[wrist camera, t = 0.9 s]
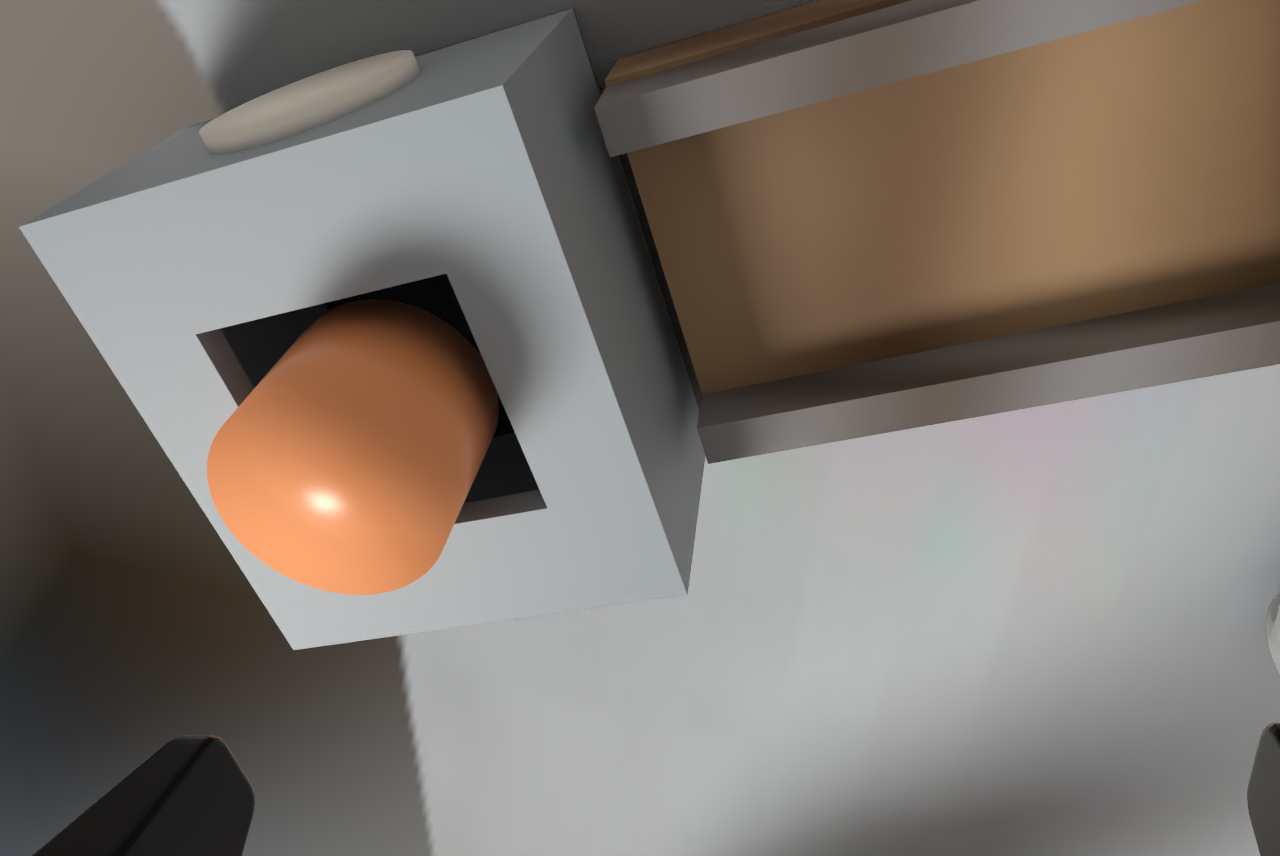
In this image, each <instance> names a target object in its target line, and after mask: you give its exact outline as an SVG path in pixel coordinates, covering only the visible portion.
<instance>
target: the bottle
mask: <svg viewBox="0 0 1280 856" xmlns="http://www.w3.org/2000/svg"><path fill="white" fill-rule="evenodd" d="M1266 621H1267V637H1268V646H1269V649H1270V652H1271V655H1272V658H1273V661H1274V663H1275V666H1276V668H1277V670H1278V672H1279V674H1280V594H1279V595H1278V596H1277V597H1276V598H1275V599H1274V600H1273V601H1272V602H1271V604H1270V606H1269V608H1268V612H1267V618H1266Z"/></svg>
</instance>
